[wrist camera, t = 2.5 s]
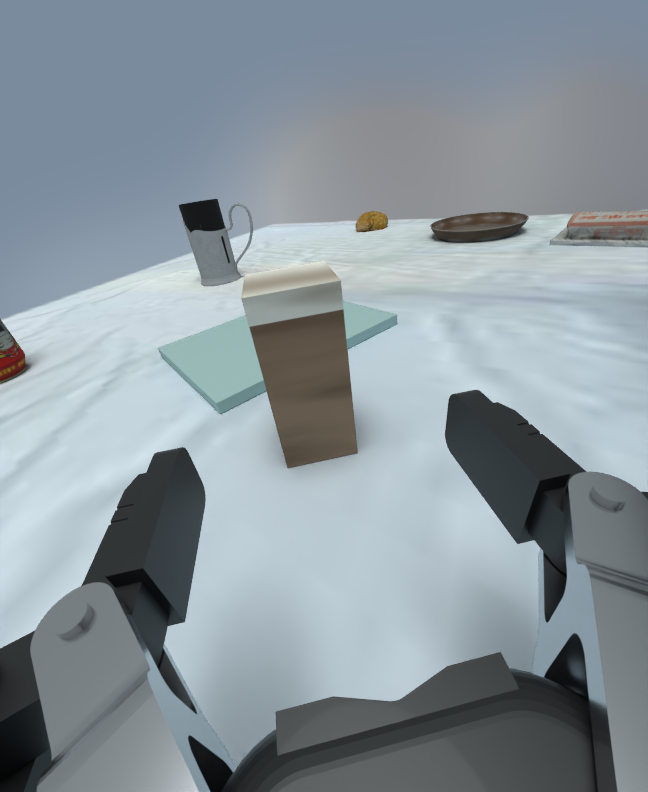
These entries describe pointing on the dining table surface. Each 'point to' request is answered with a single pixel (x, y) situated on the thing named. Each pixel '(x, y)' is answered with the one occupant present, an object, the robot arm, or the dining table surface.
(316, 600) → the dining table surface
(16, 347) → the soda can
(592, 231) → the packaged product
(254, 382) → the sage board
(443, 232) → the plant saucer
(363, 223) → the bagel
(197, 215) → the glass holder
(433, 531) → the dining table surface
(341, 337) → the brown tall square block
